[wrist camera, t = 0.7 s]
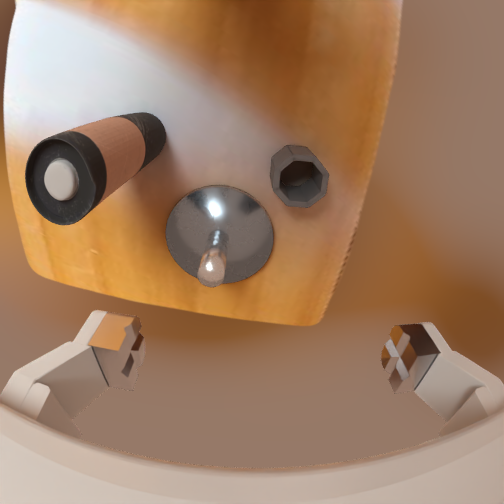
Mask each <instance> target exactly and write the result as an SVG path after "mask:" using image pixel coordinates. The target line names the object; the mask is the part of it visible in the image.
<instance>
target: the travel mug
mask: <svg viewBox="0 0 504 504" xmlns="http://www.w3.org/2000/svg"><path fill="white" fill-rule="evenodd" d="M165 137H166V135H165V129H164V126H163V124H162V123H161V121H160V120H159V119H158V118H157V117H155V116H154V115H152V114H149V113H133V114H127V115H120V116H115V117H110V118H106V119H102V120H99V121H96V122H92V123H89V124H86V125H83V126H80V127H76V128H73V129H71V130H68V131H65V132H62V133H59V134H56V135H54V136H51V137H48V138H46V139H44V140H43V141H41V142H40V143H39V144H37V145H36V146H35V148H34V149H33V150H32V152H31V154H30V156H29V158H28V161H27V165H26V171H25V180H26V187H27V191H28V194H29V197H30V199H31V201H32V203H33V205H34V207H35V208H36V209H37V211H38V212H39V213H40V214H41V215H42V216H43V217H44V218H46V219H47V220H48V221H50V222H52V223H55V224H58V225H70V224H74V223H76V222H78V221H79V220H81V219H82V218H83V217H85V216H86V215H87V214H88V213H89V212H90V211H91V210H93V209H94V208H95V207H96V206H97V205H98V204H100V203H101V202H102V201H103V200H104V199H105V198H107V197H108V196H109V195H110V194H112V193H113V192H114V191H115V190H117V189H118V188H119V187H120V186H122V185H123V184H124V183H125V182H127V181H128V180H129V179H131V178H132V177H133V176H134V175H135V174H137V173H138V172H139V171H140V170H141V169H142V168H144V167H145V166H146V165H147V164H148V163H149V162H150V161H152V160H153V159H154V158H155V157H156V156H157V155H158V154H159V153H160V152H161V150H162V149H163V146H164V144H165Z"/></svg>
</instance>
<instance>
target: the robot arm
mask: <svg viewBox="0 0 504 504" xmlns="http://www.w3.org/2000/svg"><path fill="white" fill-rule="evenodd" d="M140 329H141V322H140V318H139V317H137V316H132V315H125V314H119V313H114V312H106V311H100V310H95V311H93V312H92V313H91V315H90V316H89V318H88V319H87V321H86V322H85V324H84V325H83V327H82V328H81V330H80V331H79V333H78V335H77V336H76V338H75V340H74V341H73V342H67V343H65V344H63V345H62V346H60V347H58V348H56V349H54V350H53V351H51V352H49V353H47V354H45V355H43V356H42V357H40V358H38V359H36V360H34V361H33V362H31V363H29V364H27V365H26V366H24V367H22V368H20V369H18V370H16V371H15V372H14V374H13V375H12V377H11V378H10V380H9V382H8V383H7V385H6V386H5V388H4V390H3V391H2V393H1V395H0V504H504V385H503V383H502V382H501V380H500V379H499V378H497V377H496V376H494V375H493V374H491V373H490V372H488V371H486V370H485V369H483V368H481V367H480V366H478V365H477V364H475V363H474V362H472V361H470V360H469V359H467V358H466V357H464V356H462V355H461V354H459V353H457V352H456V351H453V352H452V350H451V349H450V347H449V346H448V345H447V343H446V342H445V340H444V339H443V337H442V336H441V334H440V333H439V332H438V330H437V329H436V327H435V326H434V324H432V323H430V322H425V323H418V324H405V325H395V326H394V327H393V328H392V329H391V332H390V334H389V335H390V338H391V339H390V340H389V341H388V342H387V343H385V345H384V347H383V350H382V353H381V361H382V366H383V368H384V370H385V371H386V372H388V373H389V374H390V376H389V382H390V384H391V387H392V389H393V391H394V394H397V393H404V392H410V391H414V392H415V393H416V394H417V395H418V396H419V397H420V398H421V399H422V400H423V401H425V402H426V403H427V404H428V405H429V406H430V407H431V408H432V409H433V410H434V411H435V412H436V413H437V414H439V415H440V416H441V417H442V418H443V419H444V420H445V421H446V422H447V423H446V424H445V425H444V426H443V427H442V428H441V430H440V431H439V436H440V437H439V438H436V439H433V440H430V441H427V442H424V443H421V444H418V445H415V446H412V447H408V448H404V449H401V450H397V451H393V452H389V453H385V454H381V455H376V456H372V457H367V458H362V459H356V460H351V461H344V462H338V463H330V464H322V465H313V466H301V467H285V468H231V467H215V466H204V465H195V464H186V463H179V462H173V461H166V460H161V459H155V458H150V457H145V456H141V455H136V454H132V453H128V452H124V451H120V450H116V449H112V448H109V447H105V446H102V445H98V444H95V443H92V442H89V441H86V440H83V439H80V438H81V435H82V434H81V431H80V430H79V429H78V427H77V426H76V425H75V423H74V422H73V421H72V419H73V418H74V417H76V416H77V415H78V414H79V413H80V412H82V411H83V410H84V409H85V408H86V407H87V406H89V405H90V404H91V403H92V402H93V401H94V400H95V399H97V398H98V397H99V396H100V395H101V394H102V393H104V392H105V391H106V390H107V389H108V388H109V387H113V388H118V389H124V390H129V391H133V389H134V386H135V384H136V381H137V378H138V372H137V368H138V367H140V366H141V365H142V364H143V361H144V356H145V340H144V337H143V336H142V335H141V334H140V332H139V331H140Z"/></svg>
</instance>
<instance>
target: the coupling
mask: <svg viewBox="0 0 504 504" xmlns="http://www.w3.org/2000/svg"><path fill="white" fill-rule="evenodd" d="M294 160H297V161H307V162H313V169H312V177H311V178H310V179H309V180H307V181H306V182H305V183H304V184H302V185H301V186H288V185H284V184H283V182H282V181H281V180H280V172H281V171H282V170H283V169H284V168H286V167H287V166H288V165H289V164H291V163H292V162H293V161H294ZM270 178H271V183H272V188H273V191H274V192H275V193H276V195H277V196H278V197H279V198H280V199H281V200H282V201H283V202H284V203H285V205H286V206H291V207H305V208H308V207H310V206H312V205H313V204H314V203H316V202H317V201H318V200H320V199H321V198H322V197H324V196H325V194H326V191H327V185H328V178H329V174H328V172H327V170H326V169H325V168H324V166H323V165H322V164H321V163H320V161H319V160H318V159H317V158H316V156H315V155H314V154H313V153H312V152H311V151H310V150H309V149H308V148H307V147H302V146H292V145H287V146H285V147H284V148H282V149H281V150H280V151H279V152H277V153H276V154H275V155H274V156H273V157H272V158H271V170H270Z"/></svg>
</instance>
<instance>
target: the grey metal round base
mask: <svg viewBox="0 0 504 504" xmlns="http://www.w3.org/2000/svg"><path fill="white" fill-rule="evenodd" d="M166 241H167V246H168V249H169V251H170V253H171V255H172V257H173V258H174V260H175V261H176V262H177V264H178V265H179V266H180V267H181V268H182V269H183V270H185V271H186V272H187V273H189V274H190V275H192V276H194V277H196V278H198V280H199V281H200V282H201V283H202V284H203V285H205V286H207V287H216V286H219V285H220V284H221V283H233V282H238V281H241V280H244V279H246V278H248V277H250V276H252V275H253V274H255V273H256V272H257V271H258V270H260V269H261V268H262V266H263V265H264V264H265V263H266V261H267V260H268V258H269V256H270V253H271V251H272V246H273V229H272V224H271V220H270V218H269V216H268V214H267V212H266V210H265V209H264V207H263V206H262V205H261V204H260V203H259V202H258V201H257V200H256V199H255V198H254V197H252V196H251V195H250V194H248V193H246V192H244V191H242V190H240V189H237V188H234V187H230V186H223V185H211V186H205V187H202V188H198V189H196V190H194V191H192V192H190V193H188V194H187V195H185V196H184V197H183V198H182V199H181V200H180V201H179V202H178V203H177V204H176V206H175V207H174V209H173V210H172V212H171V214H170V216H169V218H168V221H167V225H166Z"/></svg>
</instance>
